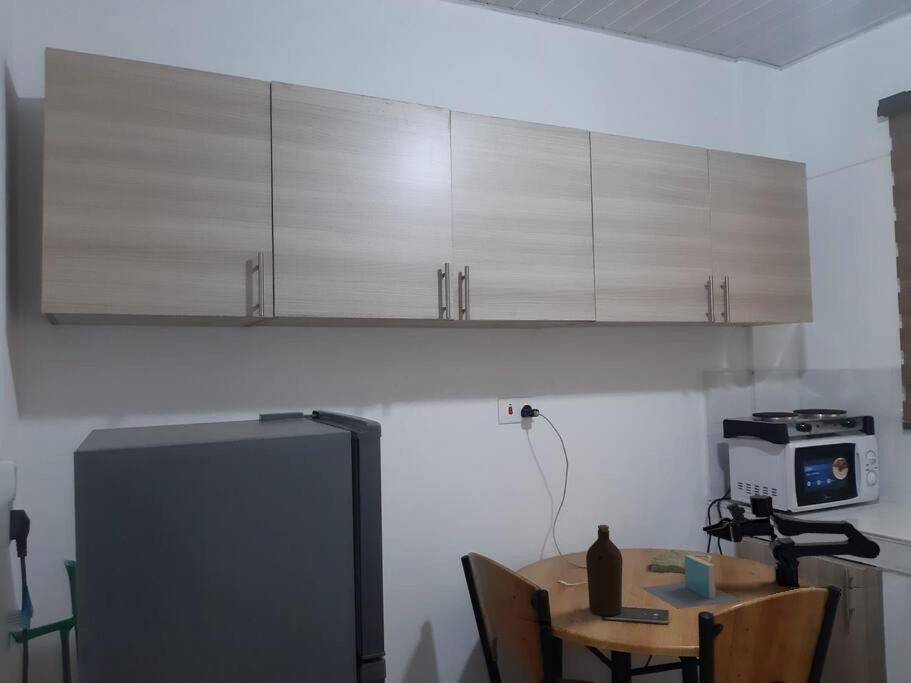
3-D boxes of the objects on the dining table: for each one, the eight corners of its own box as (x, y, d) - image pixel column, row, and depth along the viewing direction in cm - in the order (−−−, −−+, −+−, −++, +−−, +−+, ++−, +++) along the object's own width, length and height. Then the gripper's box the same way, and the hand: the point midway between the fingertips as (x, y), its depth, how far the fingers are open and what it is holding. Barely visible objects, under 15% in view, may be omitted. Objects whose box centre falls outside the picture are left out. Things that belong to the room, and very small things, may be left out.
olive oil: (629, 616, 197) (626, 529, 198) (593, 618, 196) (591, 531, 197) (616, 603, 208) (614, 521, 209) (582, 605, 207) (580, 522, 208)
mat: (700, 582, 227) (700, 580, 227) (740, 602, 207) (740, 600, 207) (641, 589, 221) (641, 587, 221) (677, 610, 201) (677, 608, 201)
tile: (691, 586, 221) (691, 554, 222) (715, 597, 210) (714, 565, 210) (685, 586, 220) (684, 555, 221) (708, 598, 209) (707, 565, 209)
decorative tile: (712, 563, 249) (712, 553, 250) (704, 578, 232) (704, 568, 232) (660, 557, 258) (660, 548, 258) (648, 571, 240) (648, 561, 241)
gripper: (744, 500, 237) (697, 504, 240) (755, 505, 219) (705, 509, 222) (749, 533, 235) (702, 536, 238) (761, 541, 217) (710, 544, 220)
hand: (704, 530), depth 230 cm, fingers open, 9 cm apart
